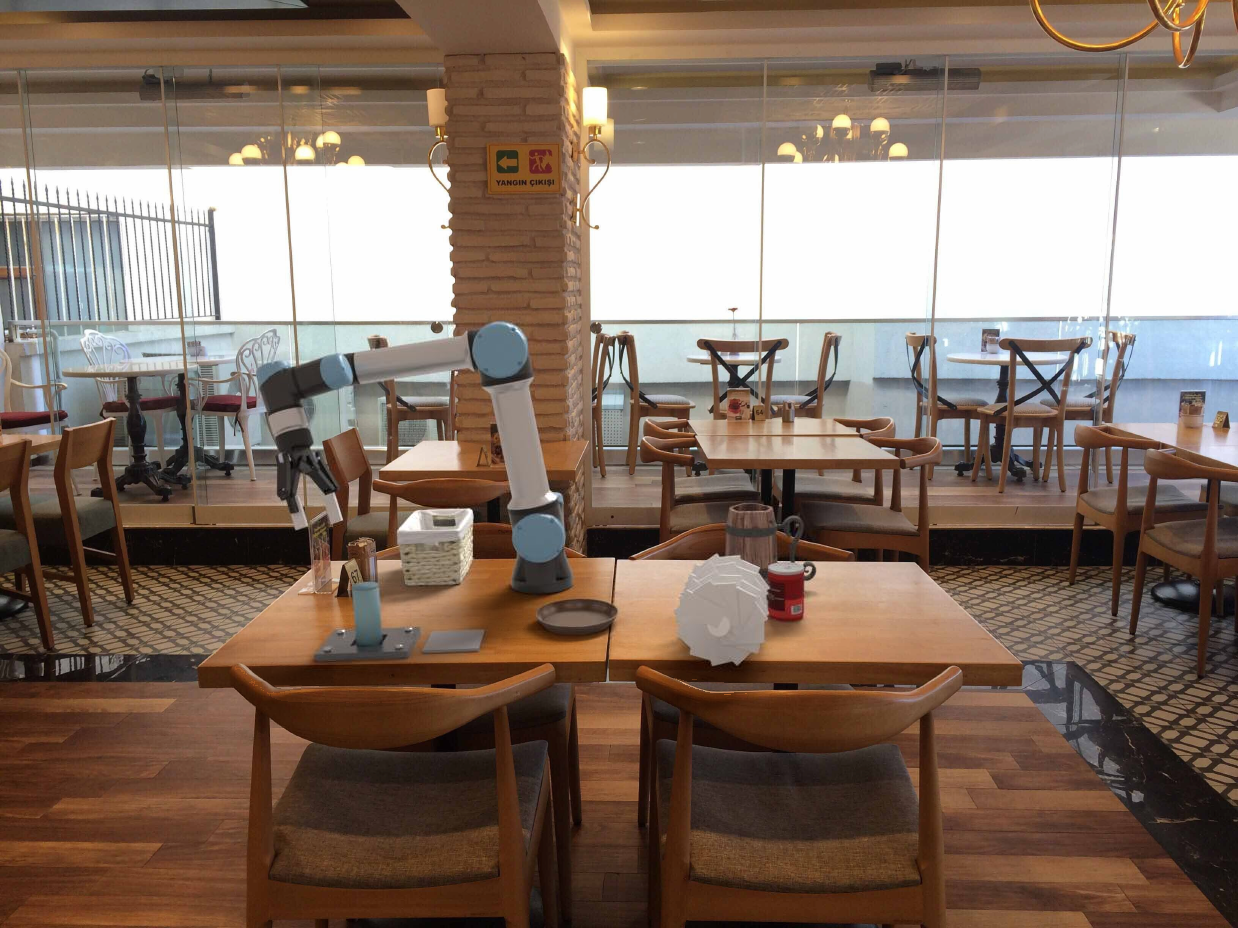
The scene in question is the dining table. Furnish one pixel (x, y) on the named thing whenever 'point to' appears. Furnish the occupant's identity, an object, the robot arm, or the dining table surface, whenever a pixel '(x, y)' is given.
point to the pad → (453, 641)
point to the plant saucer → (576, 616)
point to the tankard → (759, 537)
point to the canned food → (786, 591)
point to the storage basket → (436, 547)
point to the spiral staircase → (723, 610)
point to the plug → (367, 614)
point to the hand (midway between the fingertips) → (320, 525)
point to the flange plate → (345, 648)
